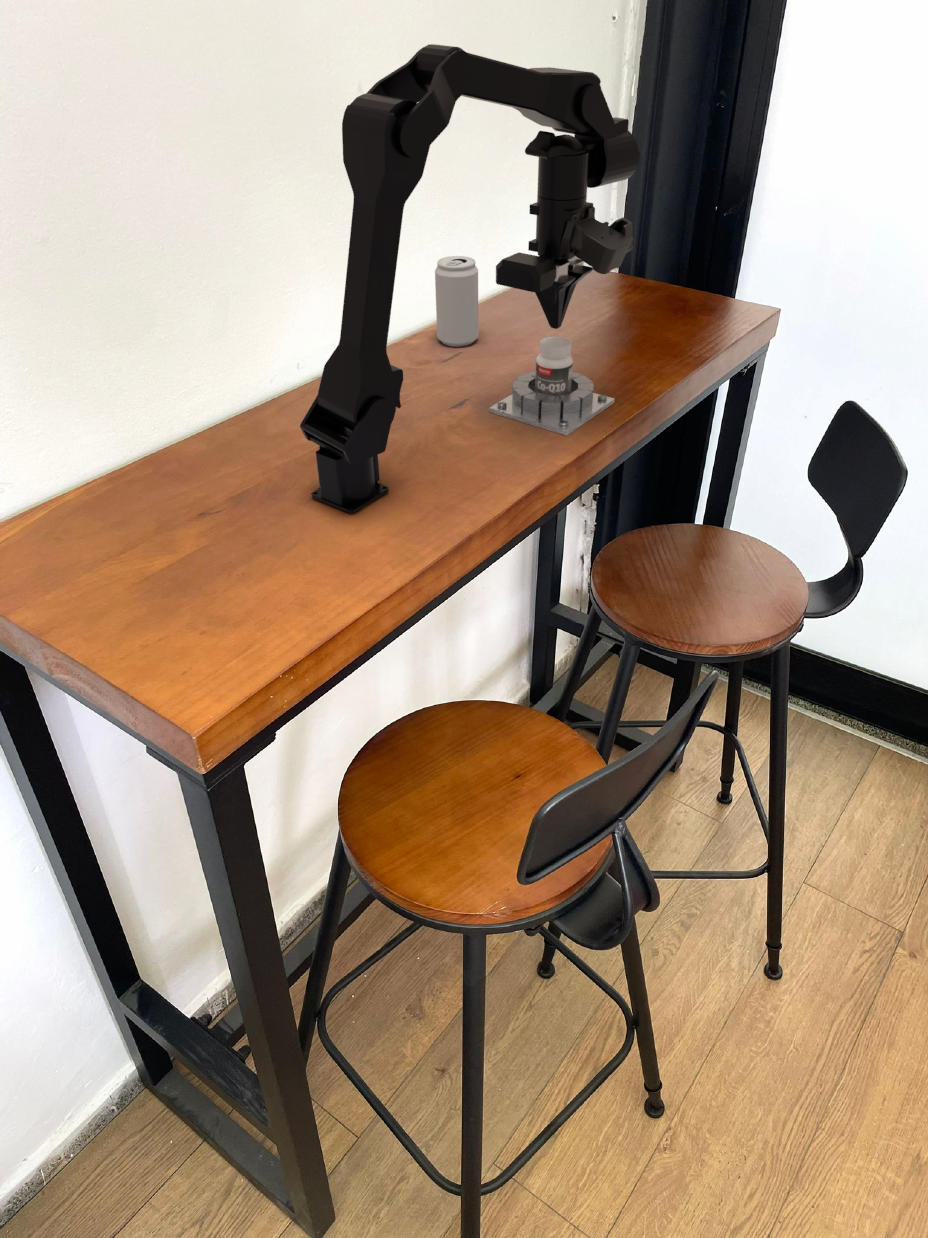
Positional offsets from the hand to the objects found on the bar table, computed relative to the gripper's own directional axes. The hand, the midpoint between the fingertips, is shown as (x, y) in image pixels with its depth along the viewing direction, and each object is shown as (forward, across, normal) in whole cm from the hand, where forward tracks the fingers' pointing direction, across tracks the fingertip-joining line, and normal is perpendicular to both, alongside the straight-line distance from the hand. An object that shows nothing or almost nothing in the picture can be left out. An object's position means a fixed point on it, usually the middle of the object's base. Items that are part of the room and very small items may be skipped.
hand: (555, 327), depth 116 cm
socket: (+11, 0, 0) cm, 11 cm away
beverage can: (+11, +12, +25) cm, 30 cm away
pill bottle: (+10, 0, 0) cm, 10 cm away
